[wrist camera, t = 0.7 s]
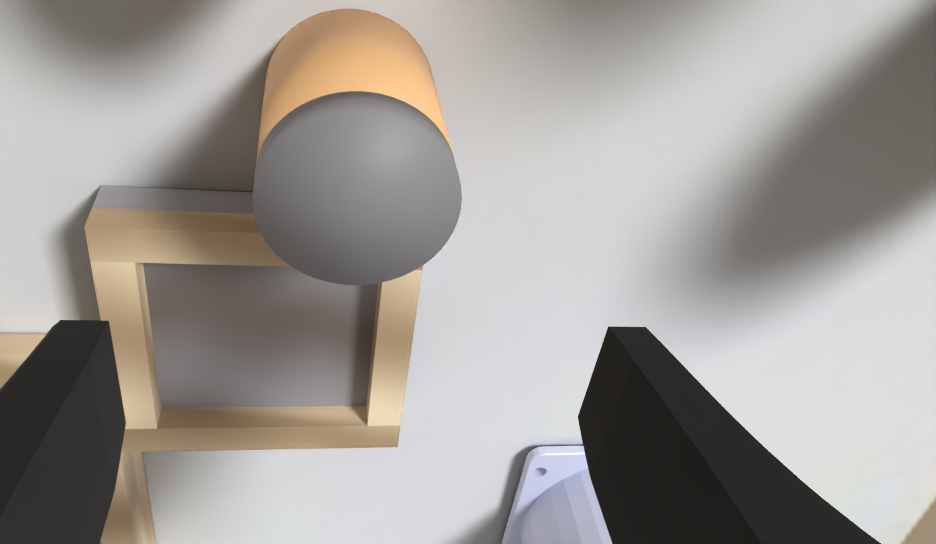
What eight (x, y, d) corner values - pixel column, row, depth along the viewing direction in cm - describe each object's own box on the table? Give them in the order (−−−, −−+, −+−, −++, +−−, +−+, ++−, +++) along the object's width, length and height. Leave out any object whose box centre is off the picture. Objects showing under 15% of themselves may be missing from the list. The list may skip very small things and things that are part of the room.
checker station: (373, 559, 32) (376, 612, 30) (-78, 580, 28) (-103, 640, 27) (419, 199, 21) (428, 248, 20) (-275, 168, 18) (-336, 223, 17)
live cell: (423, 166, 21) (447, 286, 17) (266, 158, 20) (253, 282, 16) (442, 17, 18) (476, 118, 15) (265, 0, 18) (250, 103, 14)
